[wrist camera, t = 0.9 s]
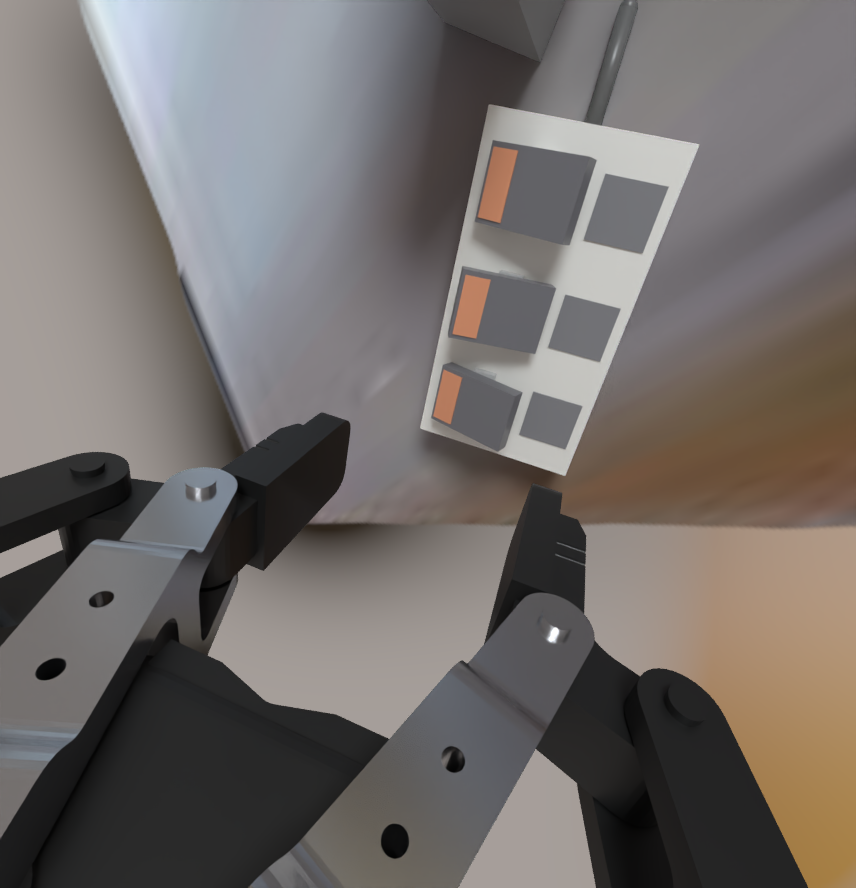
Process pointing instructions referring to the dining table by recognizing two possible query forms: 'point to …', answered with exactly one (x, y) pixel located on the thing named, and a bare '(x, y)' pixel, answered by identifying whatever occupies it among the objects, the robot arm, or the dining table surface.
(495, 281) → the block
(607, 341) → the power strip
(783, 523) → the dining table surface
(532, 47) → the perfume bottle
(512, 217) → the plate
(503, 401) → the rocker
